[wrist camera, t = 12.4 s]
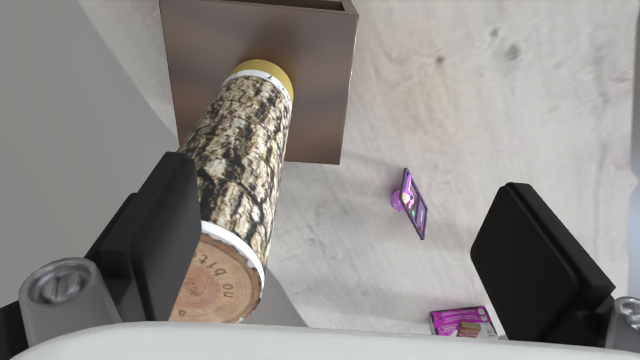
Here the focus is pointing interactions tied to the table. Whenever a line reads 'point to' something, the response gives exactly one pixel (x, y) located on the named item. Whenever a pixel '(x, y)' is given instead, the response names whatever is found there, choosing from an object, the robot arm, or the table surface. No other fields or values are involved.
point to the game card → (405, 201)
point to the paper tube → (236, 192)
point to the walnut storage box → (271, 45)
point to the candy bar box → (463, 323)
